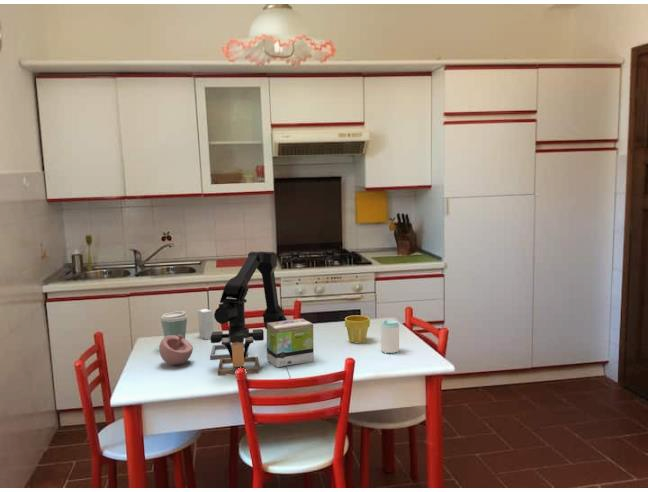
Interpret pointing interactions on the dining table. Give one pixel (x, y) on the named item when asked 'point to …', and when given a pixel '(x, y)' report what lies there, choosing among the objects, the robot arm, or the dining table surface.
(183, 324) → the disposable coffee cup
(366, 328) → the plant pot
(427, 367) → the dining table surface
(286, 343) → the tea box
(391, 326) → the can
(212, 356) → the gray square frame
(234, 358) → the plug block
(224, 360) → the frame
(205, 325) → the skincare box
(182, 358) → the mortar and pestle
